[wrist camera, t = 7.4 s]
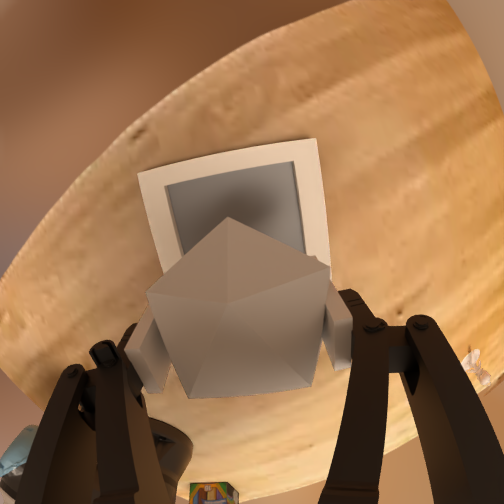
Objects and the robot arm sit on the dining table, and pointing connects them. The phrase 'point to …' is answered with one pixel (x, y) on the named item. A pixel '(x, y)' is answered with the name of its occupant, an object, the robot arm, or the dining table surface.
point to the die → (241, 314)
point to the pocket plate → (239, 198)
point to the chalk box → (213, 494)
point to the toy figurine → (471, 362)
